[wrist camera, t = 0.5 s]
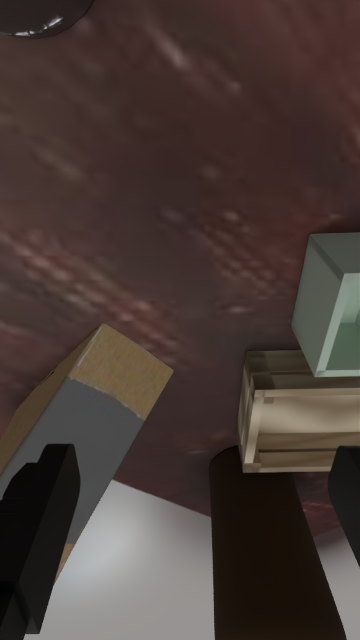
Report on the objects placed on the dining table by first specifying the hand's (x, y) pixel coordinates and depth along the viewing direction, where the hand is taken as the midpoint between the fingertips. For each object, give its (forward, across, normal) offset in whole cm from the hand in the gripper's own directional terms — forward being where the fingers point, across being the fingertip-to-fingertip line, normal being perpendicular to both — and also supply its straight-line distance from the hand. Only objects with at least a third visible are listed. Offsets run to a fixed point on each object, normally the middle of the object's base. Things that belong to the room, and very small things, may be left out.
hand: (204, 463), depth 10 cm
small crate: (+17, -11, 0) cm, 20 cm away
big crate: (+19, -13, +13) cm, 26 cm away
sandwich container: (+19, +9, +12) cm, 25 cm away
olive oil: (+21, -8, +25) cm, 34 cm away
